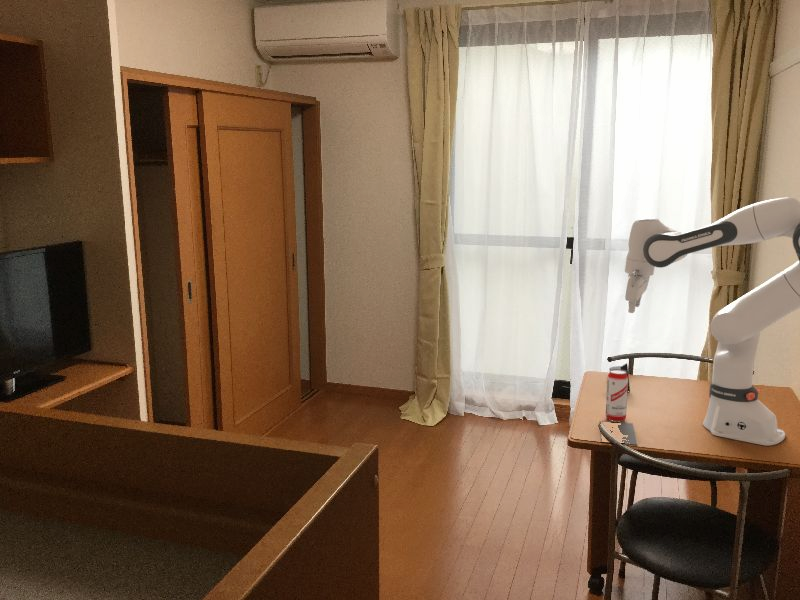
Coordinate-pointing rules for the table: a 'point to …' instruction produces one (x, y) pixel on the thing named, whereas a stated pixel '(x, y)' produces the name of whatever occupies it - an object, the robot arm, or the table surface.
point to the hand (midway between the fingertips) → (633, 309)
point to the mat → (627, 433)
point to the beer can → (616, 395)
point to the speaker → (623, 369)
